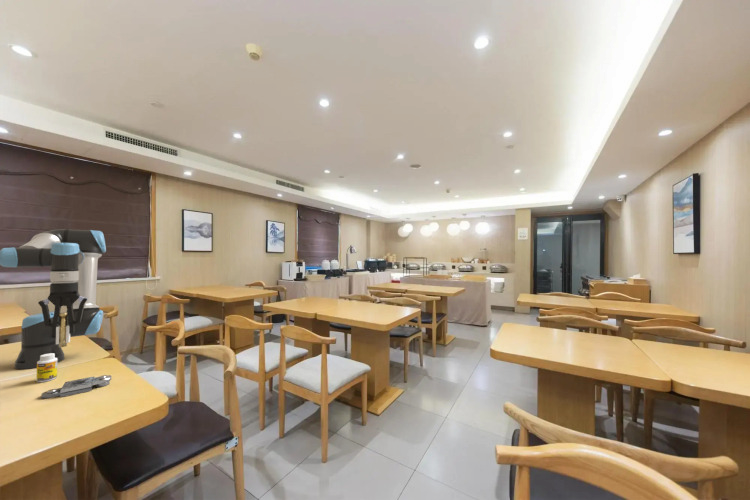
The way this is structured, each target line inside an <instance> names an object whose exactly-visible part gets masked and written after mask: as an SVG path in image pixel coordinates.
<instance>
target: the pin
mask: <svg viewBox="0 0 750 500" xmlns="http://www.w3.org/2000/svg"><path fill="white" fill-rule="evenodd" d="M58 316H60V335H59V347H61V348H65V347H67V346H68V343H66V326H67V316H68V312H67V311H66V312H60V313H59V315H58Z"/></svg>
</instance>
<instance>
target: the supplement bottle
mask: <svg viewBox="0 0 750 500" xmlns="http://www.w3.org/2000/svg"><path fill="white" fill-rule="evenodd" d="M57 361H58V359H57V358H55V353H49V354H44V355H41V356H40V360H39V361H38V362H37V368H36V382H37V383H46V382H50V381H53V380H55V379H56V378H57V377H58V362H57Z"/></svg>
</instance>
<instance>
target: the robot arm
mask: <svg viewBox="0 0 750 500" xmlns="http://www.w3.org/2000/svg"><path fill="white" fill-rule="evenodd" d="M106 252H107V247H106V239H105V236H104V233H103V231H101V230H94V229H93V230H92V229H68V228H60V229H59V228H58V229H51V230H47V231H43V232H40V233H37V234H35V235H34V236H33V237H32V238H31V239H30V241H28V242H26V243H25V244H23V245H20V246H19V247H3V248H1V249H0V266H1V267H3V268H14V269H15V268H43V267H44V268H45V267H46V268H47V267H49V268H50V277H49V279H50V280H49V281H50V285H49V294H48V296H47V298H45V299H43V300H39V301H38V305H39V306H40V307H41V311H42V312H40V313H36V314H32V315H28V316H26V317H24V318H23V319H22V322H21V327H20V330H21V341H20V342H21V343H20V344H21V349H20V351H19V353H18V355H17V357H16V360H15V363H14V369H16V370H28V369H30V370H31V369H35V368H36V369H37V362H38V361H39V360H40V356H41V355H44V354H49V353H55V358H57V359H58V361H57V363H60V362H61V361H64V360H65V353H64V350H63V349H62V348H63V347H59V335H60V316H58V315H59V313H61V310H62V307H66V312H68V316H67V326H66V343H67V344H68V343H71V338H73V337H75V338H76V337H82V336H90V335H96V334H97V333H98V332H99V331H100V329H101V326H102V323H103V319H104V311H103V310H102V309H101V308H100V306H99V305H97V304H96V303H97V302H96V301H97V284H98V283H97V281H98V262H99V261H98V260H99V259H100V258H101V257H102V256H103V253H106ZM50 303H51V304H52V305H54V310H51V311H50V309H49V304H50Z"/></svg>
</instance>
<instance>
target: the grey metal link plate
mask: <svg viewBox="0 0 750 500" xmlns="http://www.w3.org/2000/svg"><path fill="white" fill-rule="evenodd" d="M111 380H112V375H111V374H110V375H109V374H108V375H107V374H104V375H100V376H96V377H95V376H90V377H84V378H83V377H82V378H79V379H78V378H77V379H74V380H69V381H64V384H63V385H62V386H61V387H59V388H52V389H49V390H47V391H46V390H45V391H44V392H42V393H41V394H40V395H41V396H40V398H41V399H42V400H44V399H46V400H47V399H51V398H52V399H53V398H57V397H60V398H64V397H69V396H72V395H77V394H83V393H88V392H92V391H93V387H94V386H95V387H96V388H103V387H107V386H109V385H110V382H111Z"/></svg>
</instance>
